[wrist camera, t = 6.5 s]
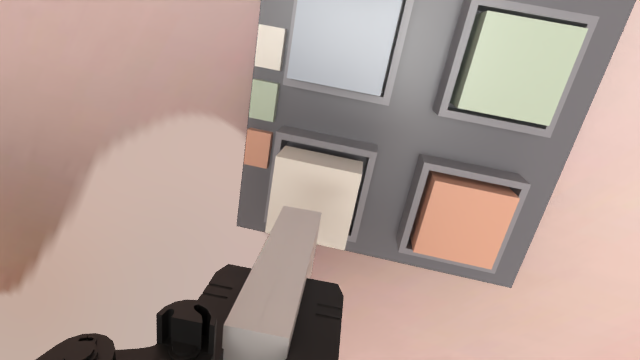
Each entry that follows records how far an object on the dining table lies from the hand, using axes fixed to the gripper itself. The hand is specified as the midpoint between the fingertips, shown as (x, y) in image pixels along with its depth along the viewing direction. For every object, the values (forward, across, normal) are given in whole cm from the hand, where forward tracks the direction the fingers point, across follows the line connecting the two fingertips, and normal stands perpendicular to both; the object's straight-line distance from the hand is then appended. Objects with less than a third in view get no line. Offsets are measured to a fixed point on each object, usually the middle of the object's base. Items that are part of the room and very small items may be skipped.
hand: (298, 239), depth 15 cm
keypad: (+12, +5, +3) cm, 13 cm away
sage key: (+10, +9, +7) cm, 16 cm away
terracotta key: (+10, +9, -2) cm, 14 cm away
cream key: (+9, 0, -1) cm, 9 cm away
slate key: (+9, 0, +8) cm, 12 cm away
